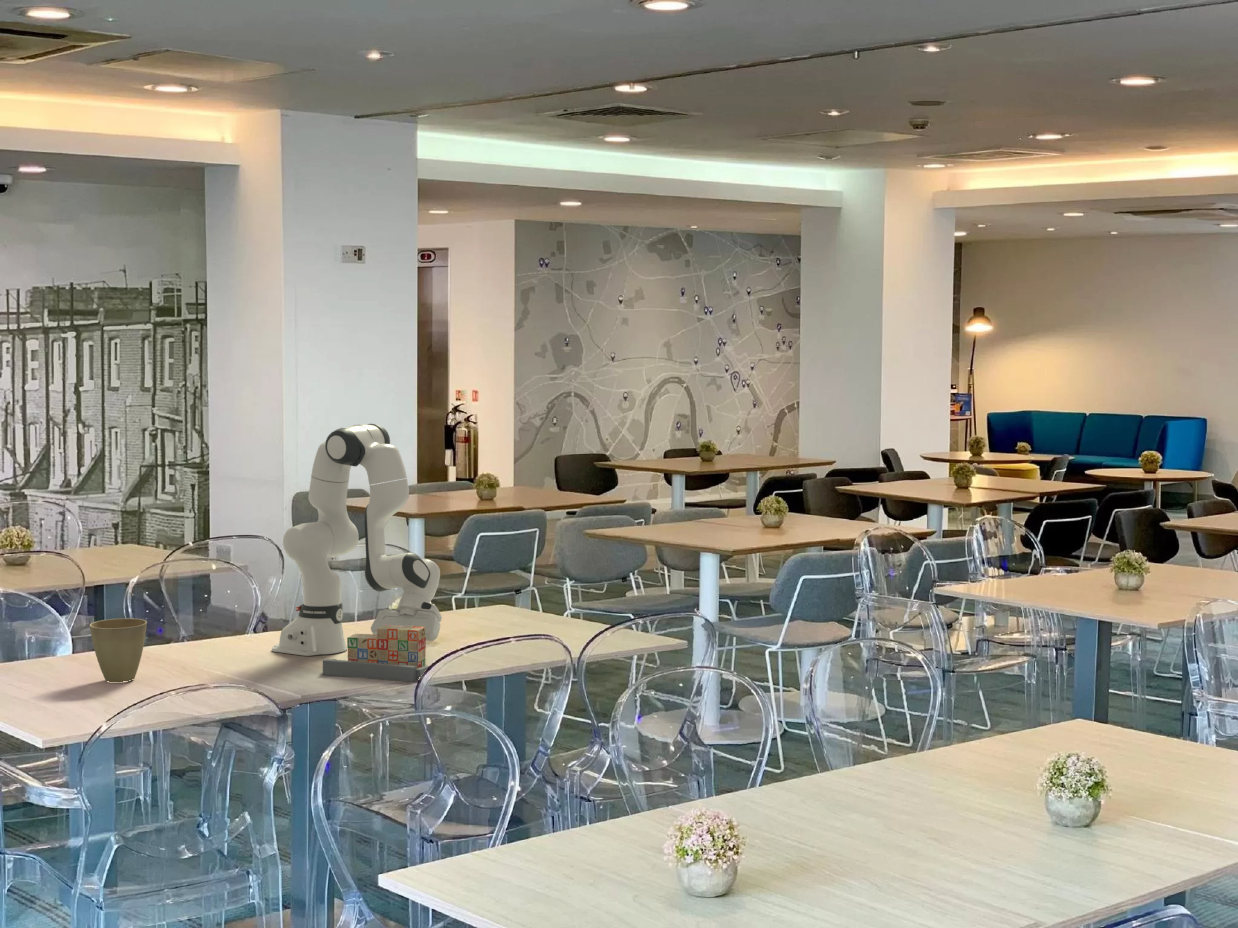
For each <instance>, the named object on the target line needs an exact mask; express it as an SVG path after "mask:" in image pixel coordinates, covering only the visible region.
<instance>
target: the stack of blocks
mask: <svg viewBox="0 0 1238 928" xmlns="http://www.w3.org/2000/svg"><path fill="white" fill-rule="evenodd" d="M346 639H347V641H346V646H347V661H358V662H371V663H384V664H397V665H410V666H416V669H418V668H420V667H423V666H427V665H426V646H427V644H426V642H427V641H426V637H425V627H420V626H413V625H383V626H381V627H379V628H377V635H375V634H373V633H372V634H371V633H354V634H352V635H350V636H348V637H347V638H346Z"/></svg>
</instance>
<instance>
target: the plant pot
mask: <svg viewBox="0 0 1238 928" xmlns="http://www.w3.org/2000/svg"><path fill="white" fill-rule="evenodd" d="M147 624H148V621H147V620H146V619H145V620H144V619H142V618H141V619H140V618H132V617H131V618H129V617H127V618H110V619H102V620H97V621H94V622H92V623H90V624H89V630H90V635H91V642H92V645H93V650H94V653H95V656H96V659H97V663H98V666H99V669H100V671H101V673H102V675H103V678H104V680H105V682H106V681H109V682H123V681H129V680H132V679H134V680H135V678H136V675H137V672H138V670H139V666H140V663H141V659H142V655H143V650H144V648H145V647H144V646H145V640H146V633H147Z"/></svg>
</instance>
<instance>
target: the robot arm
mask: <svg viewBox="0 0 1238 928" xmlns="http://www.w3.org/2000/svg"><path fill="white" fill-rule="evenodd" d="M390 438H391V437H390V434H389V432H388V431H387V430H386V429H385V428H384V427H383V426H381V425H379V424H375V423H367V424H365V423H364V424H353V425H351V426H346V427H340V428H338V429H335V430H333V431H331V432H330V434H328V435H327V438H326V440H325V441H323V442H322V443H321V444H319V446H318V448H317V450H316V453H315V456H314V460H313V464H312V470H311V475H310V481H309V490H308V498H307V499H308V501H309V503H310V505H311V506H312V507H313V508H315V509H316V510H317V514H318V520H317V521H313V522H304V523H299V524H298V525H294V526H292V527H290V528H288V529H287V530H286V531H285V533H284V536H283V538H282V546H283V549H284V552H285V554H286V555H287V557H289V558H290V559H292V560H293V562H294V563H295V564H296V565H297V568H298V570H299V573H300V575H301V579H302V588H303V589H302V592H303V593H302V594H303V604H300V605H299V606H297V607H295V611H296V612H298V611H299V613H298V616H297V617H296V618H294V619H293V620H292V621H291V622H290V623H288V624H286V626H284V627H283V628H282V630H281V632H280V636H279V640H278V641H279V642H278V643H277V644H275V645H274V646H272V648H271V652H274V653H275V652H276V653H284V654H289V655H290V654H291V655H298V656H304V657H311V656H318V655H319V656H320V655H330V654H331V655H332V654H338V653H342V652H346V651H348V648H347V642H346V639H345V635H344V628H343V615H344V614H343V613H344V609H343V608H344V607H343V606H344V605H343V603H342V588H341V587H342V586H341V585H342V583H341V582H342V581H341V577H340V575H338V573H336V572H335V571H334V570H331V568H330V566H329V563H328V558H330V557H331V558H332V557H338V556H343V555H345V554H348V553H349V552H352V551H354V550H355V549H356V548H357V547H358V544H359V540H360V539H359V538H360V536H359V531H358V528H357V526H356V525H355V524H354V523H353V522H352V521H351V518H349V517H350V516H349V514H348V510H347V508H348V507H347V499H348V489H349V488H348V487H349V481H350V473H351V468H352V467H354V468H355V467H358V466H362V467H363V468H364V469H365V471H366V474H367V479H368V485H369V501H368V504H367V506H366V507H365V510H364V538H365V539H364V540H365V541H364V542H365V564H364V565H365V566H364V578H365V581H366V583H367V584H368V586H369V587H371V588H372V589H373V590H374V591H376V592H379V593H381V592H386V591H389V590H391V589H398V588H401V589H402V590H403V593H402V594H401V597H400V599H399V602H398V605H397V607H396V608H388V607H387V608H384V609H381V610H379V611H378V613H377V615H376V617H375V619H374V621H373V622H372V624H371V627H370V632H371V633H372V634H375V635H377V628H379V627H381V626H383V625H413V626H420V627H425V637H426V642H427V641H428V642H433V641H435V640H436V639H437V638H438V636H439V633H440V630H441V621H442V620H443V617H442V614H441V611H440V610H439V609H438V607H437V606H436V605H435V604H434V603H432V599H433V598H434V597H435V594H436V592H437V590H438V587H439V584H440V578H441V570H440V567H439V565H437V563H436V562H435V561H433V560H431V559H429V558H428V559H427V558H422V557H420V556H419V555H418V554H416V553H415V552H404V553H403V552H402V553H398V554H393V555H392V554H391V555H387V554H386V542H385V527H386V523H387V522H388V520H389V519H391V518H392V516H393V515H395V514H396V513H399V511H401V510H402V508H404V506H406V504H407V502H408V501H409V500H408V499H409V498H410V497H409V496H410V488H409V487H410V486H409V483H408V478H407V477H408V476H407V473H406V472H407V471H406V467H405V464H404V462H403V458H402V456H401V453H400V450H399V449H398V448H397V447H396V446H395V445H393V444H391V439H390Z"/></svg>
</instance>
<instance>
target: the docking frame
mask: <svg viewBox="0 0 1238 928" xmlns="http://www.w3.org/2000/svg"><path fill="white" fill-rule="evenodd" d="M428 667H429V666H428V665H425V666H423V667H420V668H418V669H416V666H410V665H397V664H384V663H371V662H358V661H348V660H345V659H344V660H342V659H337V658H326V659H323V660H322V675H324V676H334V677H335V676H336V677H346V678H347V677H349V678H360V679H361V678H362V679H372V680H383V681H384V680H385V681H386V680H387V681H397V682H409V683H410V682H411V683H413V682H416V681H417V680H418V679H419V677H421V675H422V674H423V673H424V671H425V670H427V668H428ZM429 668H430V667H429Z"/></svg>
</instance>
